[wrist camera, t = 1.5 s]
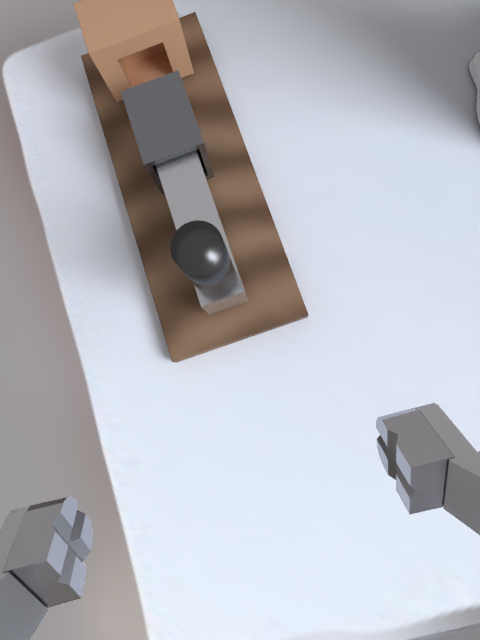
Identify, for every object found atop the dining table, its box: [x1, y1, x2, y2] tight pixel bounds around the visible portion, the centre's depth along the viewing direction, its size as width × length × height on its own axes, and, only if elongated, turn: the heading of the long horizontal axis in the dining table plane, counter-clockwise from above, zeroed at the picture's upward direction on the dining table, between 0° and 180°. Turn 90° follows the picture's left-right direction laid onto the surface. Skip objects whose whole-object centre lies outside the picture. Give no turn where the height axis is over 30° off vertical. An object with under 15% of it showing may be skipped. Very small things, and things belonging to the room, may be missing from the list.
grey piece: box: [156, 150, 248, 315], centre depth 33 cm, size 21×4×12 cm, turn 18°
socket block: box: [74, 0, 194, 102], centre depth 40 cm, size 6×9×7 cm, turn 109°
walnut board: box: [81, 12, 308, 362], centre depth 42 cm, size 37×14×2 cm, turn 18°
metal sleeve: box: [121, 70, 215, 195], centre depth 39 cm, size 8×6×6 cm
